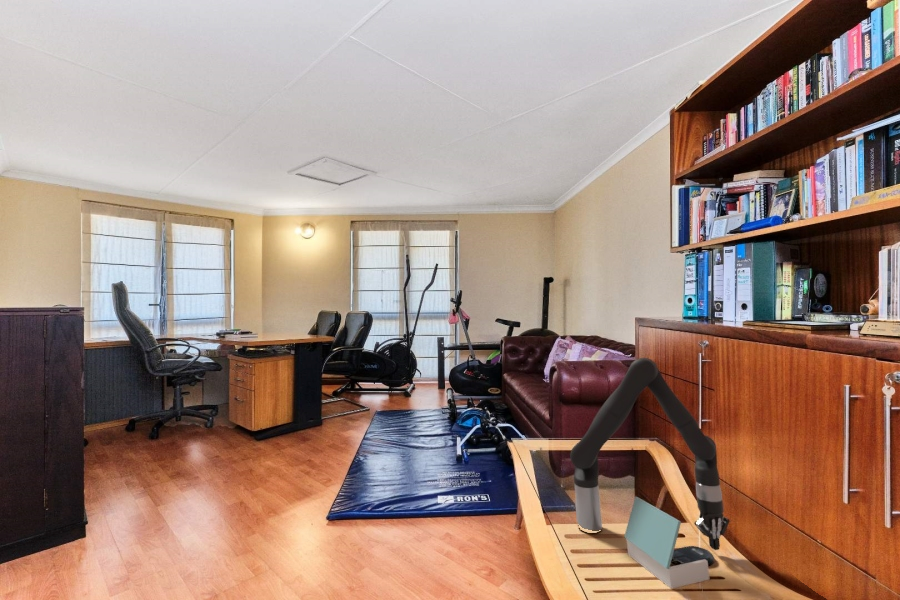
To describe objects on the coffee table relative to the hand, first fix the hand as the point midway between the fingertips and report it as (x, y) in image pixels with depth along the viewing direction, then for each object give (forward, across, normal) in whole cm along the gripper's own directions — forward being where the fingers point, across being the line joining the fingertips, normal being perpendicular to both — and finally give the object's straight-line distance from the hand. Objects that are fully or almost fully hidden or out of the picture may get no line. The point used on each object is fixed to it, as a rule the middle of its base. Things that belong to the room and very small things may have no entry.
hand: (714, 548), depth 135 cm
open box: (+2, +20, 0) cm, 20 cm away
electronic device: (+3, +10, 0) cm, 10 cm away
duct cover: (-10, +24, 0) cm, 26 cm away
